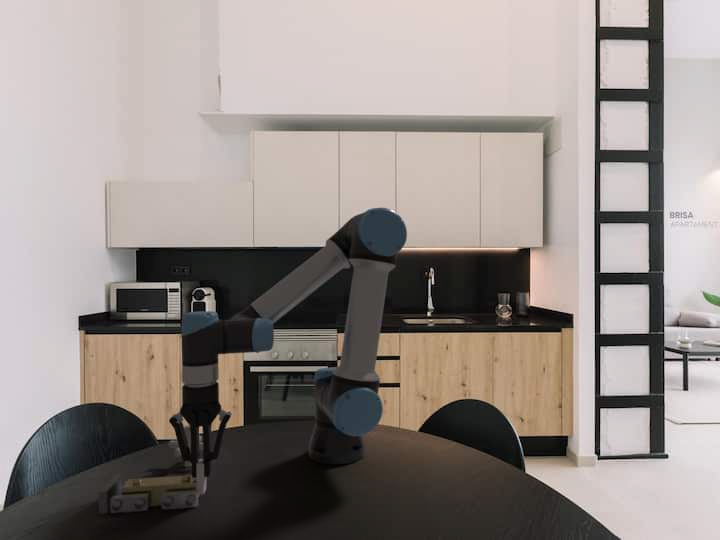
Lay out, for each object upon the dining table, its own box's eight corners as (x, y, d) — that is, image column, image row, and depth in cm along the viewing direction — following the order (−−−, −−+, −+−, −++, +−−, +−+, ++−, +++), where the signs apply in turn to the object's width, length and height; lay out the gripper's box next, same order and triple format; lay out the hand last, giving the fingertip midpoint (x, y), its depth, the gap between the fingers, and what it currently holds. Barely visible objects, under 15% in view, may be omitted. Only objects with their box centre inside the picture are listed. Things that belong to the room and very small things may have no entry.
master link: (200, 495, 101) (200, 472, 101) (196, 504, 97) (195, 480, 97) (128, 500, 99) (128, 476, 99) (121, 509, 95) (121, 484, 95)
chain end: (205, 488, 104) (205, 474, 104) (196, 508, 95) (196, 494, 95) (173, 490, 103) (173, 476, 103) (161, 511, 94) (160, 496, 94)
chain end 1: (159, 491, 103) (159, 471, 103) (145, 512, 93) (145, 490, 94) (116, 494, 101) (116, 473, 101) (97, 515, 92) (97, 493, 92)
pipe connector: (195, 475, 110) (195, 434, 110) (158, 472, 112) (158, 431, 112) (216, 458, 120) (216, 420, 120) (182, 456, 122) (182, 418, 122)
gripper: (233, 377, 104) (234, 481, 104) (174, 380, 102) (175, 485, 102) (228, 385, 96) (229, 497, 96) (164, 388, 95) (165, 502, 95)
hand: (201, 491), depth 99 cm, fingers closed
